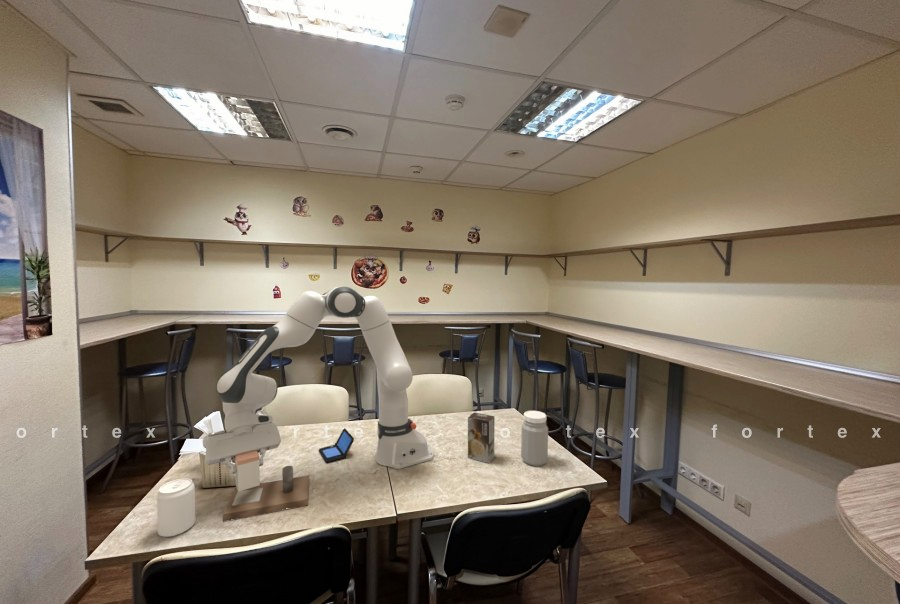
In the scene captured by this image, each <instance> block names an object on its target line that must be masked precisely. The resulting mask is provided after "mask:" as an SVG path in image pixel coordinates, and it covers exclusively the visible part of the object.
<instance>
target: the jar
mask: <svg viewBox="0 0 900 604" xmlns="http://www.w3.org/2000/svg"><path fill="white" fill-rule="evenodd" d="M520 437H521V440H520V441H521V442H520V443H521V446H520V447H521V448H520V449H521V451H520V457H521V459H522V460H523V462H524V463H525V464H527V465H529V466H533V467H541V466H543V465H545V464H546V463H547V461H548V457H549V456H548V453H549V452H548V451H549V450H548V449H549V447H548V446H549V427H548V425H547V414H546V413H545V412H542V411H540V410H539V411H538V410H527V411H525V412H524V413H523V423H522V424H521V436H520Z"/></svg>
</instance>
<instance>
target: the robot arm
mask: <svg viewBox="0 0 900 604" xmlns="http://www.w3.org/2000/svg"><path fill="white" fill-rule="evenodd" d="M387 312H388V311H387V310H386V308H385V307H384V305H383V303H382V302H381V300H380V299H379V297H377V296H375V295H367V296H362V295H360V294H359V293H358V292H357V291H356V290H355V289H353V288H351V287H349V286H343V285H342V286H341V285H340V286H336V287H333V288H331V289H330V290H328V291H326V292H325V293H323V294H321V293H319V292H317V291H314V290H306V291H304V292H302V293H301V295H299V296H298V297H297V298H296V300H295V301H294V302H293V303H292V305H291V306H290V307H289V308H288V310H287V312H286V313H285V314H284V316H283V317H282V318H281V320H280V321H278V322H277V323H275V324H274V325H273V326H269V327H267V328H265V329H264V330H263V331H262V332H261V333H260V334H259V335H258V337H256V338H255V340H254V341H253V342H252V343H251V344H250V346H249V347H247V349H246V350H245V352H243V354H242V355H241V356H240V357H239V358H238V359H237V360H236V361H235V363H233V365H232V366H231V367H230V368H228V369H227V370H226V371H225V372H224V373H223V374H222V375H221V376H220V378H218V380H217V382H216V386H215V391H216V394H217V396H218V398H219V399H220V401H221V402H222V403H221V404H222V410H223V414H224V415H225V417H224V421H223V422H224V428H225V429H222V430H219V431H216V432H210V433H208V434H207V435H206V436H204V437H203V438H202V447H203V448H204V449H205V456H204V458H205V459H204V460H205V464H207V466H211V465H216V464H220V463H224V465H225V466H226V467H227V468H228V469H229V470H230V475H233V474H234V475H235V473H237V466H236V465H235V464H234V465H233V463H232V460H235V455H238V454H242V453H246V452H250V451H254V450H256V451H257V453H258V454H259V456H260V457H259V467H263V466H264V458H265V456H266V455H265V454H266V451H270V450H275V449H277V448H278V447H279V446H280V445H281V442H282V440H281V439H282V438H281V433H280V432H279V429H278V427H277V425H276V424H275V423H274V421H273V420H274V419H273V416H272V415H266V414H256V413H257V412H256V411H257V410H258V409H259V410H260V409H262V408H264V407H266V406H268V405H270V404H271V403H272V402H273V401H274V400H275V399H276V397H277V394H278V383H277V381H276V379H275V378H273V377H270V376H266V375H262V374H257V373H253V372H254V371H255V370H256V368H257V367H258V366H259V365H260V364H261V362H262V361H263V360H264V359H265V358H266V356H268V354H270V353H272V352H273V351H276V350H279V349H284V348H295V347H299V346H302V345H304V344H306V343H307V342H308V341H309V340H310V339H311V338H312V337H313V335H314V334H315V332H316V329H318V327H319V325H320V323H321V322H322V321H323V320H324V318H326V317H327V316H330V315H332V316H334V317H337V318H343V319H345V318H346V319H347V318H355V319H356V320H357V323H358V325H359V327H360V330H361V333H362V336H363V339H364V341H365V343H366V346H367V348H368V350H369V353H370V355H371V357H372V359H373V361H374V364H375V368H376V383H377V384H376V385H377V396H378V422H377V437H378V440H377V441H378V442H377V445H376V446H377V447H376V453H375V456H374V461H375V462H376V463H377V464H378V465H381V466H384V467H390V468H392V469H395V470H400V469H403V468H407V467H410V466H414V465H418V464H422V463H425V462H428V461H431V460H433V459H434V457H435V455H434V454H435V453H434V450H433V449H432V447H431V446H430V445H429V444H428V442H427V439H426V436H424V434H422V433H421V432H420V431H418V430H416V429H417V427H418V426H417V424H416V423H415V422H413V420H412V419H411V418H409V399H408V398H409V397H408V394H407V389H408V388H409V387H410V386H411V384H413V383H412V382H413V380H414V379H413V371H412V369H411V366H410V364H409V362H408V360H407V357H406V354H405V353H404V350H403V348H402V347H401V345H400V344H401V343H400V342H399V340H398V338H397V335H396V332H395V330H394V327H393V324H392V322H391V320H390V317H389V314H388V313H387Z"/></svg>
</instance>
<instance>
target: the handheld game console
mask: <svg viewBox="0 0 900 604" xmlns="http://www.w3.org/2000/svg"><path fill="white" fill-rule="evenodd" d="M354 440H355V438H354V436H353V435H351V433H350V432H349V431H348V430H347V429H346V428H343V429H342V431H341V433H340V435H339V436H338V438H337V439H336V442H334V444H332V445H328V446H324V447H321V448H318V452H319V454H320V456H321V457H322V459H323V461H324V462H325V463H326V464H332V463H335V462H339V461H342V460H346V459H347V454H348V452H349V451H350V449H351V447H352V446H353V443H354Z"/></svg>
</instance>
